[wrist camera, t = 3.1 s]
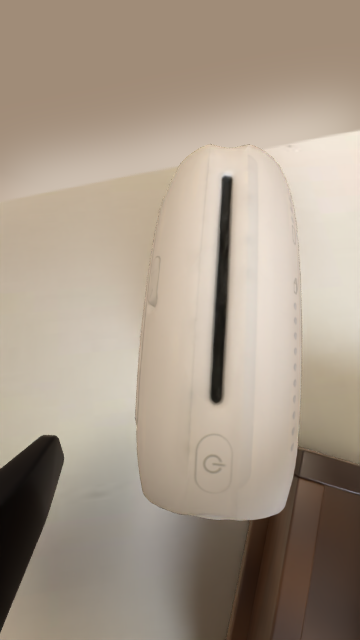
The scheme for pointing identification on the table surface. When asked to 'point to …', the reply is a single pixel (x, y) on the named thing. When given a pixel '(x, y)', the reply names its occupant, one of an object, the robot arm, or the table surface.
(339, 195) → the table surface
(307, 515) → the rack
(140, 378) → the photo printer
